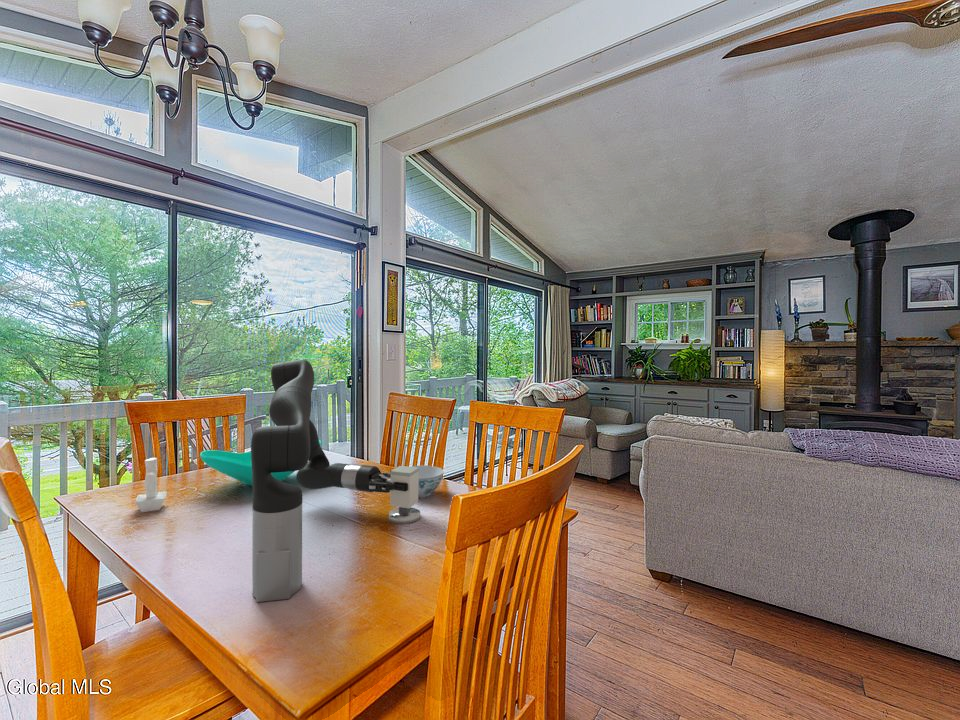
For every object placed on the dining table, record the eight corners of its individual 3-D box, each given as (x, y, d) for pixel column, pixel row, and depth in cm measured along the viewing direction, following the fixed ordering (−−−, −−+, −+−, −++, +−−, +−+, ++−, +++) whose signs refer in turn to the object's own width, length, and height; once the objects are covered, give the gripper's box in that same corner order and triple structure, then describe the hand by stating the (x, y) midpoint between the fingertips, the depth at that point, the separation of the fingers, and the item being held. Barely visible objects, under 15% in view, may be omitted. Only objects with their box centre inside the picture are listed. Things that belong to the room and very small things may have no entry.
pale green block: (409, 508, 127) (410, 473, 126) (390, 505, 128) (390, 471, 128) (418, 501, 133) (418, 467, 132) (399, 498, 134) (400, 465, 134)
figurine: (134, 516, 128) (133, 463, 128) (138, 505, 136) (137, 456, 136) (165, 511, 132) (164, 460, 132) (167, 501, 140) (167, 454, 140)
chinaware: (392, 490, 155) (393, 468, 155) (433, 485, 162) (434, 463, 161) (406, 504, 141) (406, 480, 141) (450, 497, 148) (450, 474, 148)
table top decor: (209, 506, 137) (209, 463, 136) (192, 484, 157) (191, 447, 157) (334, 482, 163) (335, 445, 163) (306, 466, 184) (306, 433, 183)
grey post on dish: (412, 525, 125) (412, 499, 125) (382, 521, 127) (383, 495, 127) (425, 514, 134) (425, 489, 133) (397, 510, 136) (397, 486, 136)
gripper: (347, 471, 127) (401, 478, 123) (373, 459, 141) (422, 464, 136) (347, 498, 127) (401, 505, 123) (372, 483, 141) (422, 489, 137)
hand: (412, 483), depth 130 cm, fingers closed on pale green block, 6 cm apart
